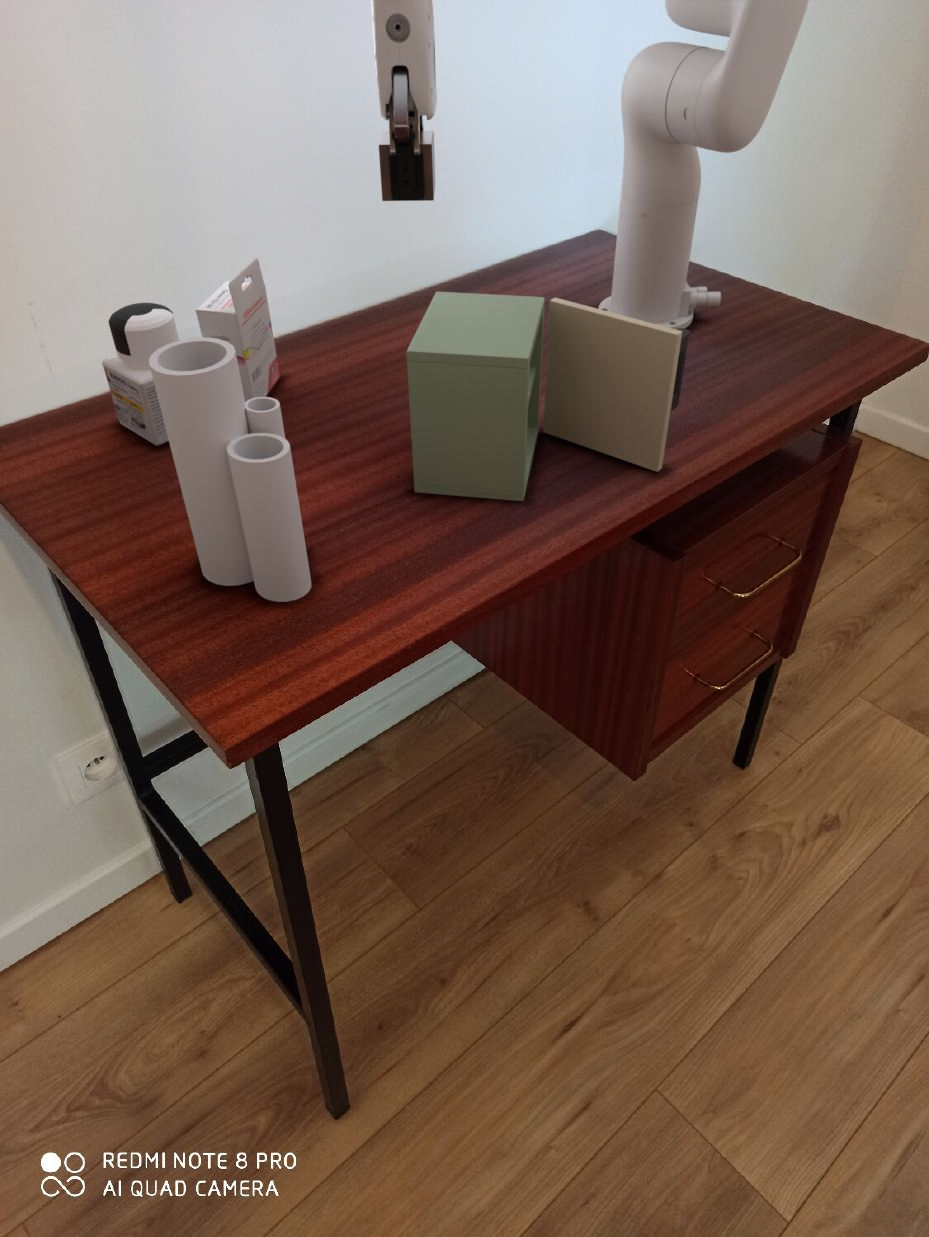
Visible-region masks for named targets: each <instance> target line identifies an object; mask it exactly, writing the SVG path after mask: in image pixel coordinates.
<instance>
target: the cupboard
mask: <svg viewBox="0 0 929 1237" xmlns="http://www.w3.org/2000/svg"><path fill="white" fill-rule="evenodd" d="M545 300H546V298H545V297H544V296H532V295H531V296H528V295H513V294H512V295H511V294H510V295H509V294H492V293H491V294H489V293H476V292H475V293H474V292H472V293H471V292H453V291H435V293H434V295H433V296H432V299H431V300H430V301H431V302H430V303H429V304H428V307H427V309H426V311H425V313H424V315H423V317H422V319H421V321H420V323H419V325H418V327H417V329H416V331H415V333H414V335H413V336H412V339H411V341H410V343H409V346H408V347H407V349H406V365H407V382H408V383H407V384H408V400H409V419H410V436H411V452H412V454H411V455H412V469H413V488H414V490H413V491H414V493H419V494H429V495H430V494H431V495H441V496H442V495H443V496H453V497H454V496H455V497H465V498H466V497H468V498H479V499H489V500H503V501H516V502H524V501H525V496H526V492H527V488H528V482H529V478H530V473H531V469H532V463H533V459H534V454H535V450H536V445H537V441H538V437H539V430H540V412H541V411H540V410H541V409H540V408H541V389H542V388H541V386H542V366H543V365H542V364H543V344H544V324H545V322H544V321H545V320H544V319H545Z"/></svg>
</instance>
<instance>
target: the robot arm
mask: <svg viewBox="0 0 929 1237" xmlns="http://www.w3.org/2000/svg"><path fill="white" fill-rule="evenodd" d="M809 2H810V0H664V7H665V11H666V14H667V16H668V18H669V19H670V20H671V21H672V22H673V23H674V24H675V25H676V26H679V27H680V28H682V29H686V30H689V31H693V32H696V33H697V32H698V33H701V34H702V33H703V34H708V35H713V36H720V37H726V38H729V39H728V42H727V46H726V48H725V50H722V49H719V48H718V49H717V48H711V47H709V46H703V45H697V44H691V43H686V42H680V41H662V42H661V41H660V42H656V43H652V44H650V45H648V46H646V47H645V48H644V47H643V49H641V50H640V51H639V52H637V54H635V56H634V57H633V58H632V60H631V61H630V63H629V64H628V66H627V68H626V71H625V73H624V76H623V80H622V85H621V91H620V92H621V93H620V107H621V108H620V110H621V120H622V131H623V163H622V164H623V165H622V178H621V189H620V199H619V208H618V220H617V231H616V240H615V241H616V242H615V252H614V262H613V272H612V273H613V274H612V284H611V294H610V296H608V297H606V298H604V299H603V300H602V301H601V302H600V303H599V305H598V308H597V309H600V310H604V311H608V312H612V313H615V314H619V315H623V316H627V317H631V318H634V319H638V320H642V321H646V322H649V323H653V324H657V325H661V326H664V327H668V328H672V329H678V328H683V329H687V328H688V327H690V325H691V324H692V322H693V320H694V310H695V309H696V308H697V307H705V308H718V307H720V305H721V300H722V293H721V291H708V287H707V286H694V287H692V286H690V284H689V283H688V281H687V278H688V273H689V266H690V261H691V260H690V259H691V252H692V246H693V245H692V244H693V240H694V239H693V238H694V231H695V225H696V218H697V211H698V205H699V198H700V194H701V193H700V192H701V185H702V184H701V183H702V168H701V167H702V166H701V161H700V160H701V159H700V156H699V151H698V148H700V149H704V150H708V151H712V152H717V153H725V154H729V153H735V152H739V151H741V150H743V149H745V148H746V147H747V146H748V145H750V143H752V142H753V140H754V139H755V138H756V137H757V135H758V133H759V132H760V131H761V129H762V127H763V125H764V123H765V121H766V119H767V117H768V115H769V112H770V109H771V107H772V104H773V101H774V99H775V97H776V94H777V91H778V89H779V85H780V83H781V80H782V77H783V75H784V72H785V70H786V67H787V64H788V61H789V59H790V57H791V54H792V51H793V48H794V45H795V42H796V40H797V38H798V34H799V32H800V29H801V27H802V24H803V21H804V18H805V15H806V12H807V8H808V5H809ZM433 4H434V3H433V0H370V6H371V9H370V10H371V25H372V41H373V51H374V65H375V77H376V86H377V95H378V102H379V104H378V105H379V111H380V112H379V113H380V116H381V117H382V118H383V119H384V120H386V121H388V129H389V130H388V131H389V134H390V154H389V168H390V184H391V198H392V199H393V200H394V201H393V202H417V200H423V199H424V197H425V188H424V162H423V154H420V131H425V130H424V116H425V117H426V121H430V120H432V119H433V118H434V116H435V114H436V109H437V100H438V94H437V75H436V74H437V73H436V72H437V71H436V70H437V68H436V45H435V44H436V43H435V19H434V18H435V17H434V5H433ZM413 139H414V140H413Z"/></svg>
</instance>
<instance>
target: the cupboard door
mask: <svg viewBox="0 0 929 1237" xmlns="http://www.w3.org/2000/svg"><path fill="white" fill-rule="evenodd" d="M548 308H549V310H548V329H547V346H546V347H547V348H546V349H547V350H546V367H545V368H546V369H545V387H544V388H545V391H544V408H543V409H544V411H543V412H544V413H543V428H542V429H543V430H542V433H545V434H548V435H550V436H553V437H556V438H559V439H562V440H565V441H568V442H569V443H570V442H571V443H573V444H576V445H579V446H582V447H585V448H588V449H591V450H594V451H596V452H599V453H602V454H604V455H607V456H611V457H613V458H616V459H619V460H622V461H623V462H628V463H631V464H634V465H636V466H639V467H642V468H645V469H648V470H649V471H653V472H656V473H658V472H659V471H661V470H662V468H663V464H664V457H665V451H666V443H667V437H668V430H669V423H670V417H671V413H672V412H673V411H674V410H675V409H676V408H678V406H679V403H680V396H681V390H682V384H683V378H684V372H685V365H686V358H687V352H688V346H689V339H690V333H691V332H690V330H688V329H687V328H685V329H683V328H678V329H672V328H668V327H664V326H661V325H657V324H653V323H649V322H646V321H642V320H638V319H634V318H631V317H627V316H623V315H619V314H615V313H612V312H608V311H604V310H600V309H598V308H597V307H593V306H589V305H585V304H581V303H578V302H575V301H570V300H566V299H563V298H560V297H553V298H552V299H550V300H549V306H548Z"/></svg>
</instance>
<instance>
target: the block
mask: <svg viewBox="0 0 929 1237" xmlns="http://www.w3.org/2000/svg"><path fill="white" fill-rule="evenodd" d="M413 140H414V139H413ZM435 153H436V152H435V131H434V130H424V131H420V154H423V162H424V188H425V197H424V199H423V200H417V201H420V202H421V201H422V202H423V201H424V202H427V201H428V202H429V201H430V202H431V201H435V191H436V158H435V156H436V154H435ZM389 154H390V134H389V130H388V131H387V130H386V131H382V134H381V136H380V139H379V143H378V158H379V172H380V187H381V188H380V189H381V201H382V202H395V201H394V200H393V199H392V198H391V184H390V168H389ZM417 201H416V202H417Z"/></svg>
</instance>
